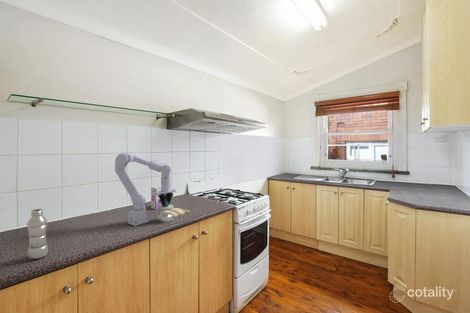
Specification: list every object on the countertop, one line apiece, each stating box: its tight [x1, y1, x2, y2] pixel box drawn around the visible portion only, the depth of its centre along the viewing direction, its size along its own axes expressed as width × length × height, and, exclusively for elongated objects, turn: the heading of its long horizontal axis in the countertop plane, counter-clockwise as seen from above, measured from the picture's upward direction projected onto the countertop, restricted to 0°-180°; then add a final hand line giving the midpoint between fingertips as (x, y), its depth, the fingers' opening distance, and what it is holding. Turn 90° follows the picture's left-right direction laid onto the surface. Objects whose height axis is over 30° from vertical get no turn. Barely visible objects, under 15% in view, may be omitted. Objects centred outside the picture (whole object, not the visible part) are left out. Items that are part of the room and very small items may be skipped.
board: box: [158, 207, 191, 218], centre depth 159 cm, size 16×14×1 cm
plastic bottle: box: [26, 208, 49, 260], centre depth 94 cm, size 6×7×20 cm
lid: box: [157, 201, 175, 211], centre depth 143 cm, size 10×10×4 cm
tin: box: [157, 212, 174, 224], centre depth 143 cm, size 9×9×4 cm
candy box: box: [150, 185, 166, 211], centre depth 173 cm, size 14×6×16 cm, turn 143°
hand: (165, 205), depth 143 cm, fingers closed on lid, 3 cm apart
